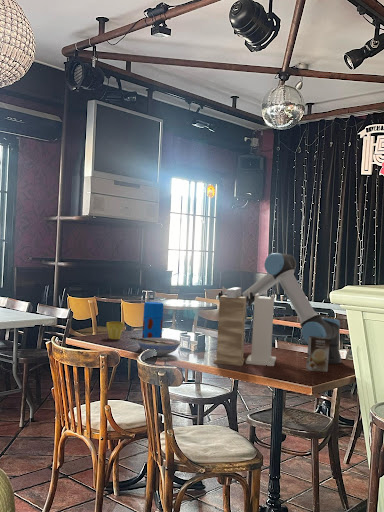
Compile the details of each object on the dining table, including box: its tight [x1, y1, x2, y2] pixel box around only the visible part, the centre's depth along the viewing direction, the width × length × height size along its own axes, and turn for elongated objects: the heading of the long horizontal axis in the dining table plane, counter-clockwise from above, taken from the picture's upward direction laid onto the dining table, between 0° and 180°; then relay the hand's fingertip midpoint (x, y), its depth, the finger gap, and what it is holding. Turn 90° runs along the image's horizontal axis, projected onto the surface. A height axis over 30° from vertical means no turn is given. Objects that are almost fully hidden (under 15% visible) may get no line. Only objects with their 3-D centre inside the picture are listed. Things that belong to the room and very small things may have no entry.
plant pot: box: [106, 321, 125, 340], centre depth 342 cm, size 10×10×10 cm
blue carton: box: [141, 301, 164, 338], centre depth 317 cm, size 11×11×25 cm
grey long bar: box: [226, 286, 242, 298], centre depth 288 cm, size 28×4×4 cm, turn 169°
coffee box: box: [305, 336, 330, 373], centre depth 277 cm, size 9×6×16 cm
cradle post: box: [245, 293, 277, 367], centre depth 292 cm, size 20×14×34 cm
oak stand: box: [213, 295, 247, 367], centre depth 285 cm, size 14×14×33 cm
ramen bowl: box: [130, 337, 181, 357], centre depth 294 cm, size 25×23×8 cm
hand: (235, 289), depth 297 cm, fingers open, 13 cm apart
